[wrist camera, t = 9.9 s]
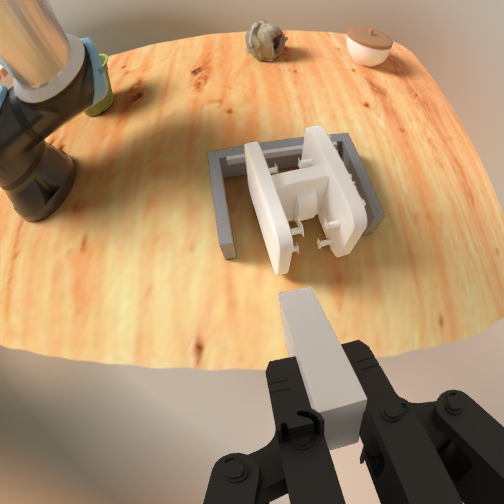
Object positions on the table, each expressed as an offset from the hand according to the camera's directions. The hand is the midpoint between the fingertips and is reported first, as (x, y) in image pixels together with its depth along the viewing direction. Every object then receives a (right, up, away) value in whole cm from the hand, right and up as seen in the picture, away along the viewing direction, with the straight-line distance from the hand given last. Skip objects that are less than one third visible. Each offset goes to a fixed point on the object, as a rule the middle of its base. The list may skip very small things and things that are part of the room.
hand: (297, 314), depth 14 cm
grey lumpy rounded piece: (+1, +48, +44) cm, 65 cm away
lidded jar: (+25, +48, +43) cm, 69 cm away
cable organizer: (+4, +7, +28) cm, 29 cm away
